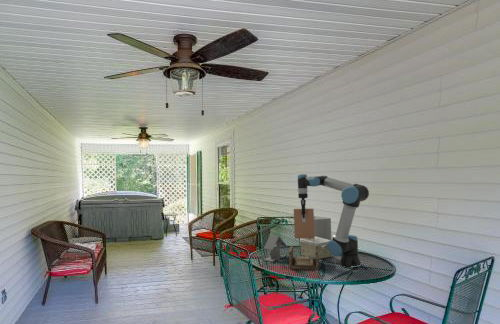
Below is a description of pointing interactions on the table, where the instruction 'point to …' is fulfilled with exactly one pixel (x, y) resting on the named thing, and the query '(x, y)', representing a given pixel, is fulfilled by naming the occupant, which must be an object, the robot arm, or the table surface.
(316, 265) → the rack
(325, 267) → the table surface
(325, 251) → the storage basket
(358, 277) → the table surface
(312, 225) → the sheet
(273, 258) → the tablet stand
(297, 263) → the offcut stack
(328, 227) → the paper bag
